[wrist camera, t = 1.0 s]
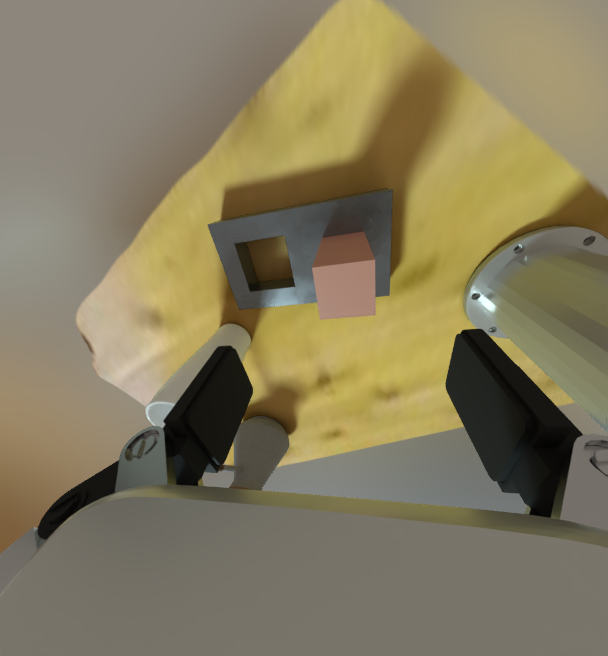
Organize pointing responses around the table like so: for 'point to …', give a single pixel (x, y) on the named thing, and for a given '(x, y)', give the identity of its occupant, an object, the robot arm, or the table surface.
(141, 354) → the table surface
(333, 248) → the square peg
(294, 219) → the square hole plate
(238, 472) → the coffee pot
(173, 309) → the table surface
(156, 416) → the drinking glass
